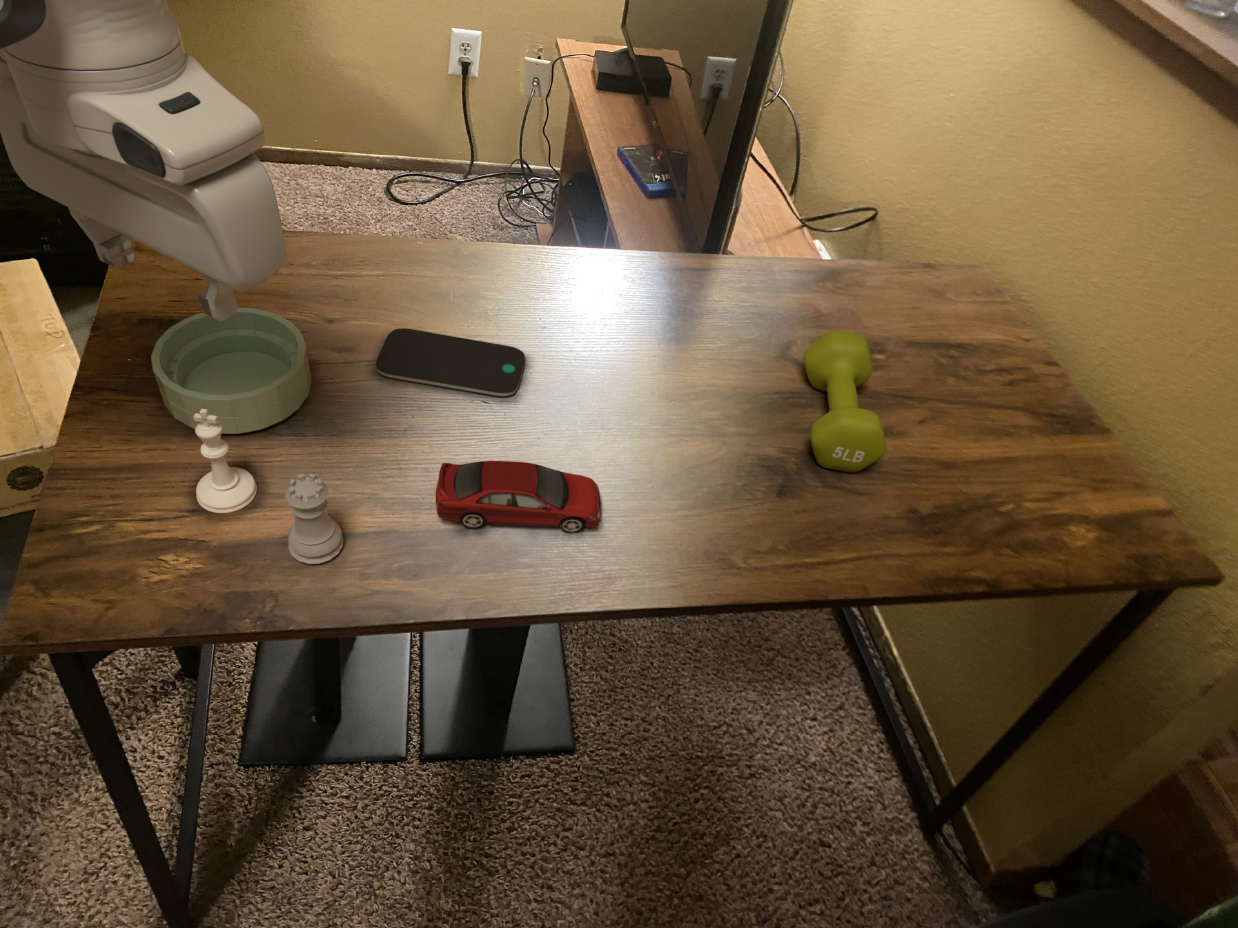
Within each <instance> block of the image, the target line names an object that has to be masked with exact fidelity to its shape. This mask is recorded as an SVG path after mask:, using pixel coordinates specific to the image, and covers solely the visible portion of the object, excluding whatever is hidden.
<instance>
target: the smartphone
mask: <svg viewBox="0 0 1238 928" xmlns="http://www.w3.org/2000/svg"><path fill="white" fill-rule="evenodd" d="M525 362H526V355H525V353H524V351H522V350H521V349H519V348H517V347H515V346H510V345H505V344H499V343H494V342H487V341H483V340H476V339H471V338H465V337H459V336H453V335H448V334H447V335H446V334H441V333H436V332H431V331H424V330H419V329H413V328H405V327H401V328H395V329H393V330H392V331H390V332H389V334H387V336H386V338H385V341H384V343H383V345H382V347H381V350H380V352H379V354H378V355H377V358H376V362H375V369H376V372H377V373H378V374H380V375H381V376H383V377H386V378H388V379H389V378H390V379H395V380H400V381H406V382H412V383H417V384H423V385H429V386H436V387H441V388H448V389H453V390H458V391H465V392H470V393H476V394H482V395H488V396H493V397H511V396H513V395H514V394H516V393H517V391H518V389H519V386H520V383H521V379H522V375H523V371H524V367H525Z"/></svg>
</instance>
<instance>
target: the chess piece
mask: <svg viewBox="0 0 1238 928" xmlns="http://www.w3.org/2000/svg"><path fill="white" fill-rule="evenodd" d="M193 418H194V421H200V422H201V423H199V424H198V425H197V426H196V428H195V429H194V433H195V435H196V436H197V437H198V439H200V440H201V441H202V444H201V446H200V454H201V455H202V456H203V457H204V458H206V459H209V460H210V467H211V471H209V472H207V473H206V474H205V475H203V476H202V477H201V478H200V480H199V481H198V483H197V485H196V487H195V489H196V490H195V494H196V500H197V503H198V504H199V505H200V506H201V508H203V509H204V510H206V511H208V512H211V513H216V514H228V513H234V512H236V511H239V510H241V509H243V508H245V507H246V506H248V505H249V504H251V502H252V501H253V500H254V498H255V497H256V495H257V492H258V486H257V485H258V484H257V482H256V480H255V478H254V476H253V475H252V474H251V473H250V472H249V471H248V470H246V469H244V468H240V467H236V466H229V464H228V462H227V460H226V458H225V455H226V454H227V453H228V451H229V445H228V443H227V441H225V440H224V439H221V436H222V425H221V424H220V423H219V422H217V420H218V419H217V416H213V415H209V414H208V410H207V409H201V411H200V414H197V413H195V415H194V417H193Z"/></svg>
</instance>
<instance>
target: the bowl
mask: <svg viewBox="0 0 1238 928" xmlns="http://www.w3.org/2000/svg"><path fill="white" fill-rule="evenodd" d="M150 361H151V366H152V372H153V375H154V378H155V381H156V384H157V386H158V389H159V393H160V396H161V398H162V401H163V404H164V406H165V408H166V409H167V410H168V412H169V413H170V414H171V415H172V417H173V418H174V419H175V420H177V421H178V422H180V423H182V424H184V425H186V426H188V427H189V428H191V429H194V430H195V428H196V426H197V425H198V424H199V423H201V422H200V421H194V418H193V417H194V415H195V413H197V414H200V411H201V409H207V410H208V414H209V415H213V416H217V419H218V420H217V422H219V423H220V424H221V425H222V433H221V435H222V434H223V435H224V434H227V435H229V434H231V435H238V434H239V435H240V434H244V433H250V432H255V431H260V430H264V429H266V428H268V427H270V426H274V425H275V424H278V423H280V422H282V421H284V420H286V419H287V418H288V417H290V416H291V415H292V414H293V413H295V412H297V411H298V410H299V409H300V408H301V406H302V405H303V404H304V402H305V401H306V400H307V398H308V396H309V394H310V390H311V385H312V374H311V368H310V363H309V356H308V349H307V344H306V342H305V339H304V336H303V333H302V331H300V330H299V328H298V327H296V325H294V323H293V322H292V321H290V320H289V319H287V318H284V317H283V316H280V314H279V315H278V314H276V313H274V312H270V311H267V310H262V309H258V308H254V307H237V311H236V312H235V314H233V315H232V316H230V317H229V318H227V319H225V320H224V321H218V320H216V319H214V318H212V317H210V316H209V315H207V314H205V313H203V312H200V313H197V314H194V315H191V316H188V317H186V318H184V319H182V320H180V321H179V322H177V323H176V324H174V325H172V326H170V327H169V328H168V329H167V330H166V331H165V332H164V333H163V334H162V335H161V336H160V337H159V338H158V339H157V340H156V342H155V344H154V347H153V349H152V352H151V355H150Z"/></svg>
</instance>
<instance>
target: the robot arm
mask: <svg viewBox="0 0 1238 928" xmlns="http://www.w3.org/2000/svg"><path fill="white" fill-rule="evenodd" d="M0 136H1V138H2V142H3V145H4V147H5V151H6V153H7V156H8V159H9V161H10V162H9V163H10V164H11V167H12V168H13V170H14V171H15V173H16V174H17V176H18V177H19V178H20V179H21V181H22V182H23V184H25V185H26V186H27V187H28V188H30V189H31V190H33V191H35V192H37V193H38V194H41V195H43V196H45V197H47V198H49V199H51V200H53V201H55V202H57V203H58V204H61V205H63V206H65V207H67V209H68V211H69V214H70V215H71V217H72V218H73V219H74V221H75V222H76V223H77V225H79V227H80V228H81V230H82V231H83V233H84V234H85V235H86V236H87V237H88V239H89V240H90V241H91V242H92V244H93V247H94V249H95V252H96V254H97V257H98V259H99V260H100V261H101V262H102V263H105V264H108V265H109V266H111V267H113V268H116V269H117V270H118V269H123V268H124V267H125V265H130V264H131V263H133V262H134V261H135V259H136V253H135V251H134V249H133V244H132V241H131V239H132V240H133V241H136V242H137V243H140V244H142V245H144V246H146V247H147V248H149V249H151V250H153V251H156V252H157V253H160V254H162V255H163V256H166V257H167V258H170V259H172V260H174V261H175V262H178V263H180V264H182V265H183V266H186V267H187V268H190V269H192V270H194V271H196V272H198V273H199V274H200V277H201V280H202V281H203V282H205V283H207V284H208V283H209V285H208V288H207V289H203V290H201V291H200V292H198V293H196V297H197V300H198V303H199V304H200V311H201V313H205V314H207V315H209V316H210V317H212V318H214V319H216V320H218V321H224V320H225V319H227V318H229V317H230V316H232V315H233V314H235V312H236V311H237V308H238V302H237V298H236V294H235V292H238V293H246V292H249V291H250V290H253V289H254V288H256V287H258V286H259V285H261V284H263V283H264V282H267V280H269V279H270V278H272V277H273V276H276V274H277V273H278V272H279V271H280V270H281V269H282V268H283V266H284V264H285V262H286V259H287V258H286V257H287V253H286V252H287V251H286V250H287V249H286V242H285V235H284V229H283V223H282V218H281V213H280V208H279V204H278V199H277V195H276V190H275V187H274V185H273V182H272V178H271V176H270V174H269V172H268V170H267V168H266V166H265V165H264V164H263V163H262V161H261V160H260V159H259V158H258V157H257V156H256V155H255V154H254V153H255V152H257V151H259V150H260V149H262V148H263V147H264V146H265V143H266V142H265V141H266V139H265V132H264V126H263V123H262V121H261V119H260V117H259V116H258V115H257V113H256V112H254V110H252V108H250V107H249V106H247V104H245V103H244V102H242V101H241V100H240V99H239V98H237V97H236V96H235V95H234V94H233V93H231V92H230V91H229V90H228V89H226V88H225V87H224V86H223V85H221V83H219V81H217V80H216V79H215V78H214V77H213V76H212V75H211V74H210V73H209V72H208V71H207V70H206V69H205V68H204V66H202V64H200V62H199V61H198V59H196V58H195V57H194V56H192V55H191V54H189V53H188V52H187V53H186V52H185V47H184V43H183V39H182V34H181V30H180V27H179V24H178V22H177V19H176V18H175V15H174V14H173V12H172V10H171V9H170V6H169V4H168V2H167V0H0Z"/></svg>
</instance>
